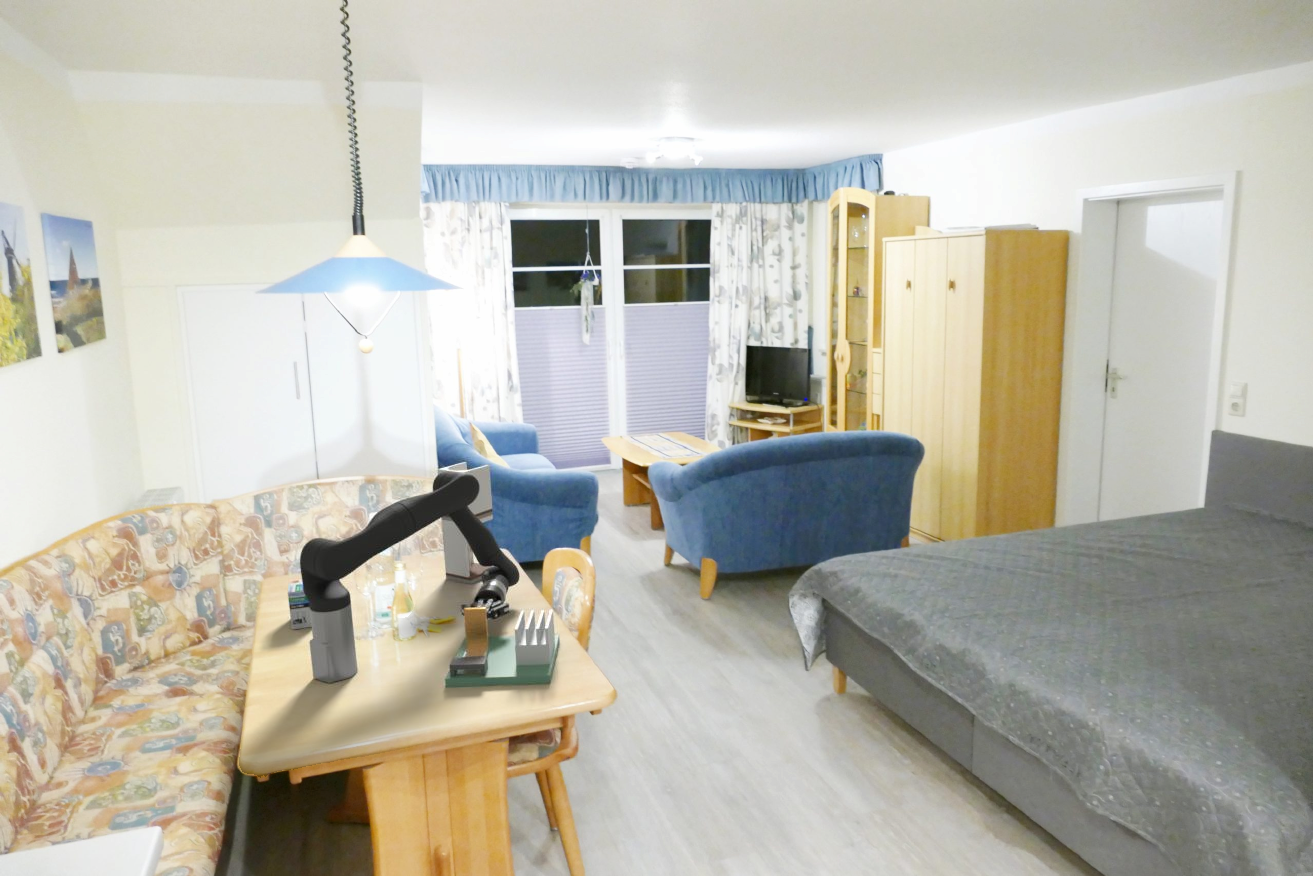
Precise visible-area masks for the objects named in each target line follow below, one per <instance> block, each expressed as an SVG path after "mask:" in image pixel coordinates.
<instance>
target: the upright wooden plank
mask: <svg viewBox="0 0 1313 876" xmlns="http://www.w3.org/2000/svg"><path fill="white" fill-rule="evenodd" d="M463 619H464V629H465V632H464V633H465V637H466V647H467V649H466V651H465V653H464V655H463V657H486V656H487V653H488V651H489V642H488V637H489V632H488V620H487V613H486V607H474V608H464V616H463Z"/></svg>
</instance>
